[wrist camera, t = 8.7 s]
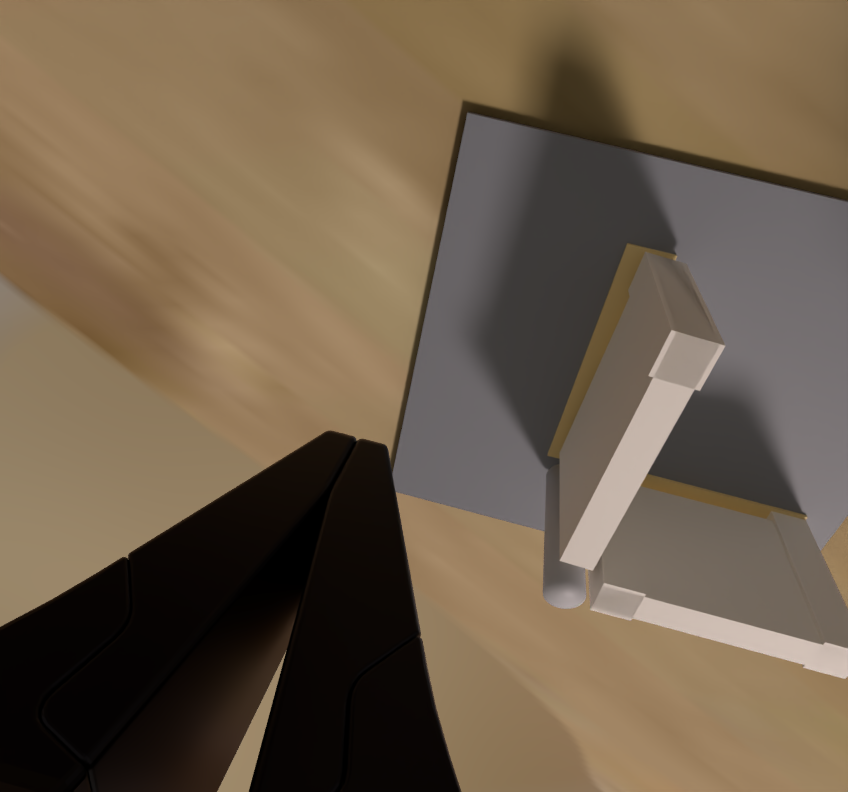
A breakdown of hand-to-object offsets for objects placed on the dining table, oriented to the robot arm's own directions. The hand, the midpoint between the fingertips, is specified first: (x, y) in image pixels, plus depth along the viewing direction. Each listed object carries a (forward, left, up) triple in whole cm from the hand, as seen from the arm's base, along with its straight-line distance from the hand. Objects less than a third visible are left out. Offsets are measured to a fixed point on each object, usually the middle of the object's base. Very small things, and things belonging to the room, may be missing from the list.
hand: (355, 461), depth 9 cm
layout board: (-6, +3, -9) cm, 11 cm away
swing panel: (-5, +3, -8) cm, 10 cm away
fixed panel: (-9, +6, -9) cm, 14 cm away
